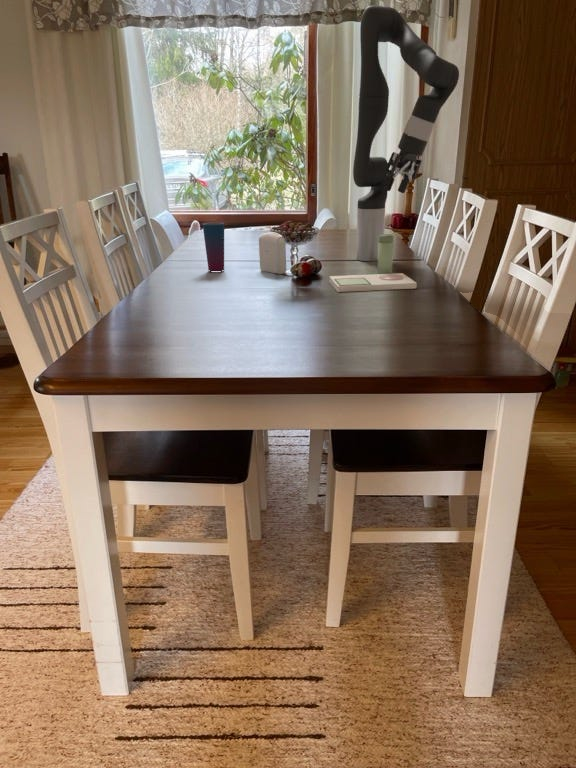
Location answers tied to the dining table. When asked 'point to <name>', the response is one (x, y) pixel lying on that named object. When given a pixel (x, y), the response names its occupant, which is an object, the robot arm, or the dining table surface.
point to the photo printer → (272, 252)
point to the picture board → (372, 282)
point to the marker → (385, 254)
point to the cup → (214, 245)
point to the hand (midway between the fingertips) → (393, 191)
